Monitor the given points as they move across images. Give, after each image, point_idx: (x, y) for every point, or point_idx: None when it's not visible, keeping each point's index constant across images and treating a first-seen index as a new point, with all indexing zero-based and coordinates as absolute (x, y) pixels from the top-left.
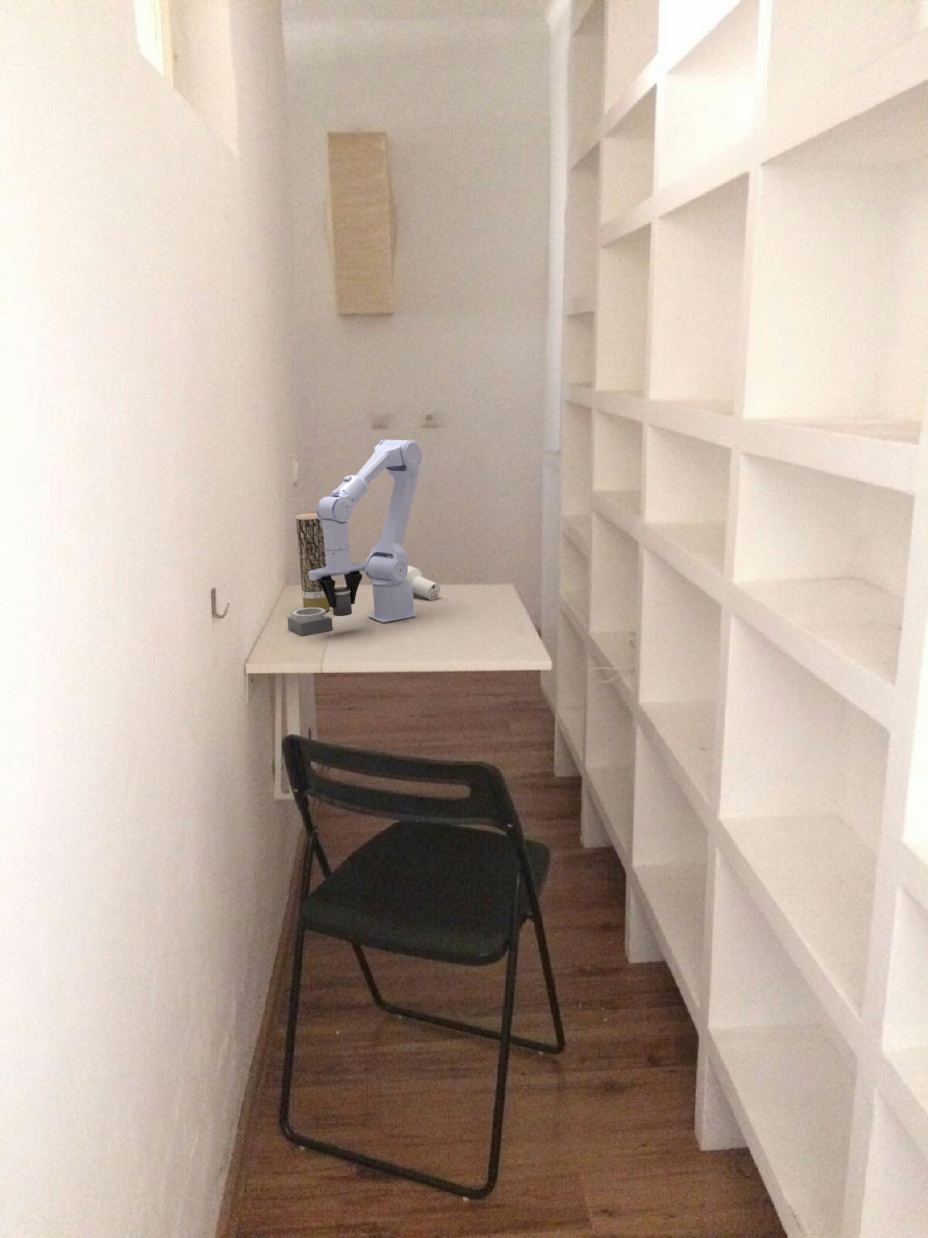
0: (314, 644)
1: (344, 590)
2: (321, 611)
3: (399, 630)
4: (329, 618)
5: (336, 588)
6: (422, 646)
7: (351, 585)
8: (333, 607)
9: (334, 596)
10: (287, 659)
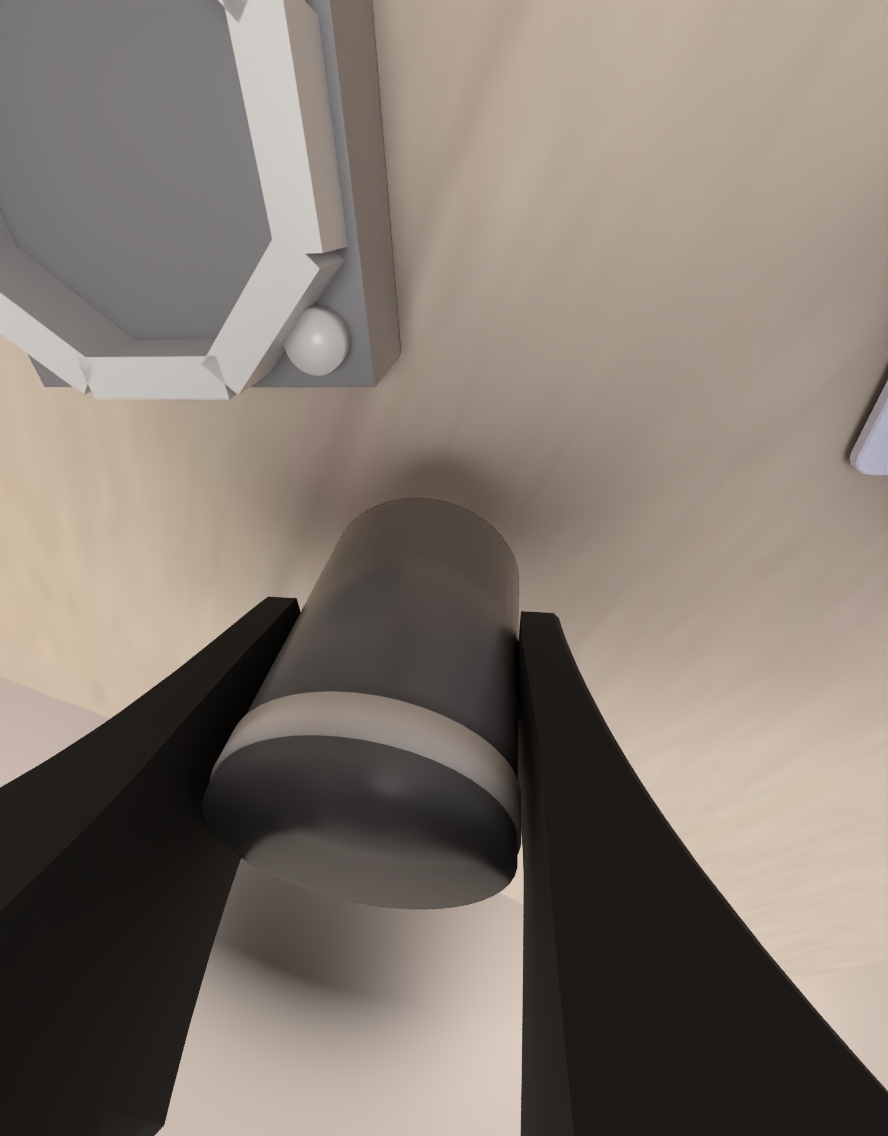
0: (206, 586)
1: (375, 901)
2: (248, 299)
3: (744, 663)
4: (350, 385)
5: (303, 803)
6: None
7: (525, 948)
8: None
9: None
10: (75, 684)
